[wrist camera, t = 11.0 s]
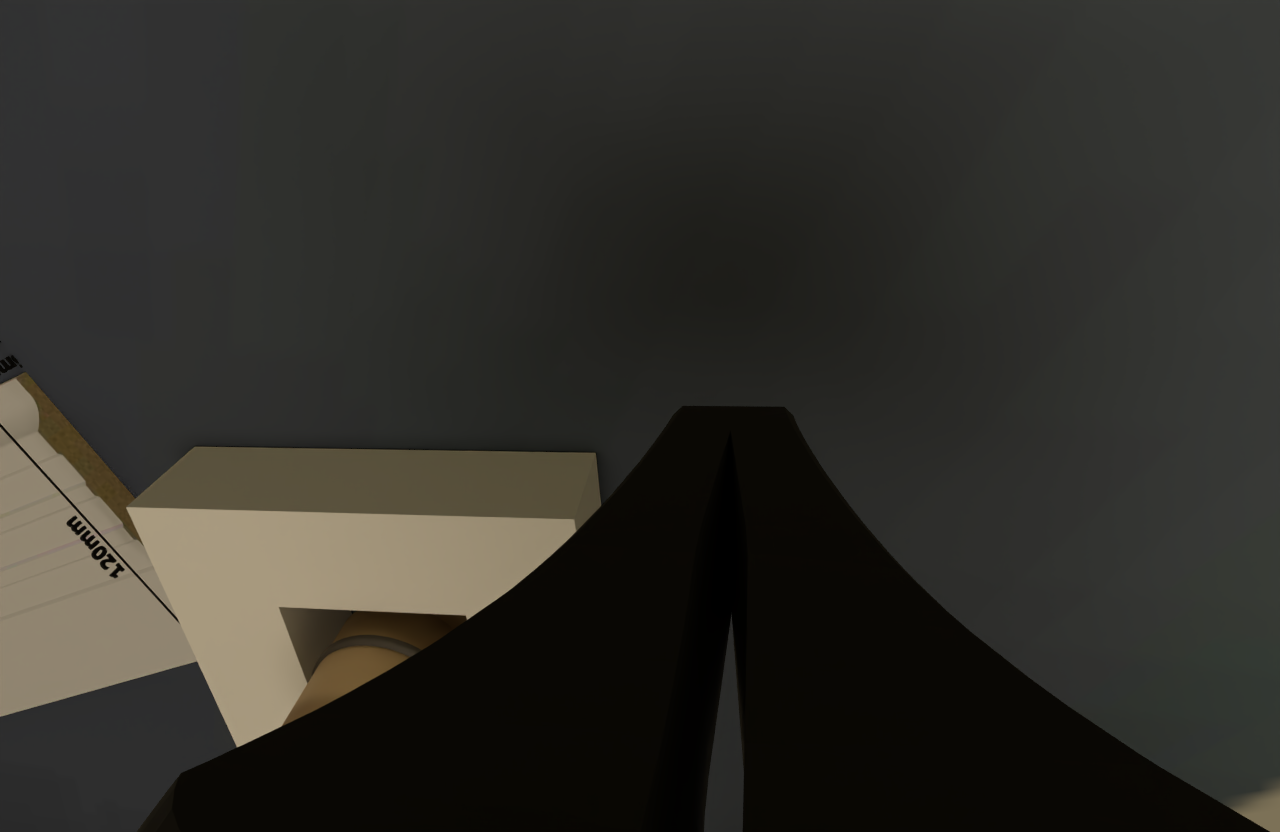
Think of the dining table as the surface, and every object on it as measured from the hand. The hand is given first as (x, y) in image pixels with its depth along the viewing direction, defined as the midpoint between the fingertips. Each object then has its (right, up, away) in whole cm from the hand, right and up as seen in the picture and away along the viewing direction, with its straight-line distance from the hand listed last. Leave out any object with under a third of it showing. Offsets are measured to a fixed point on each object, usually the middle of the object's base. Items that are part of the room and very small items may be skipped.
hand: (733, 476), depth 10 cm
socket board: (-8, -5, +16) cm, 18 cm away
